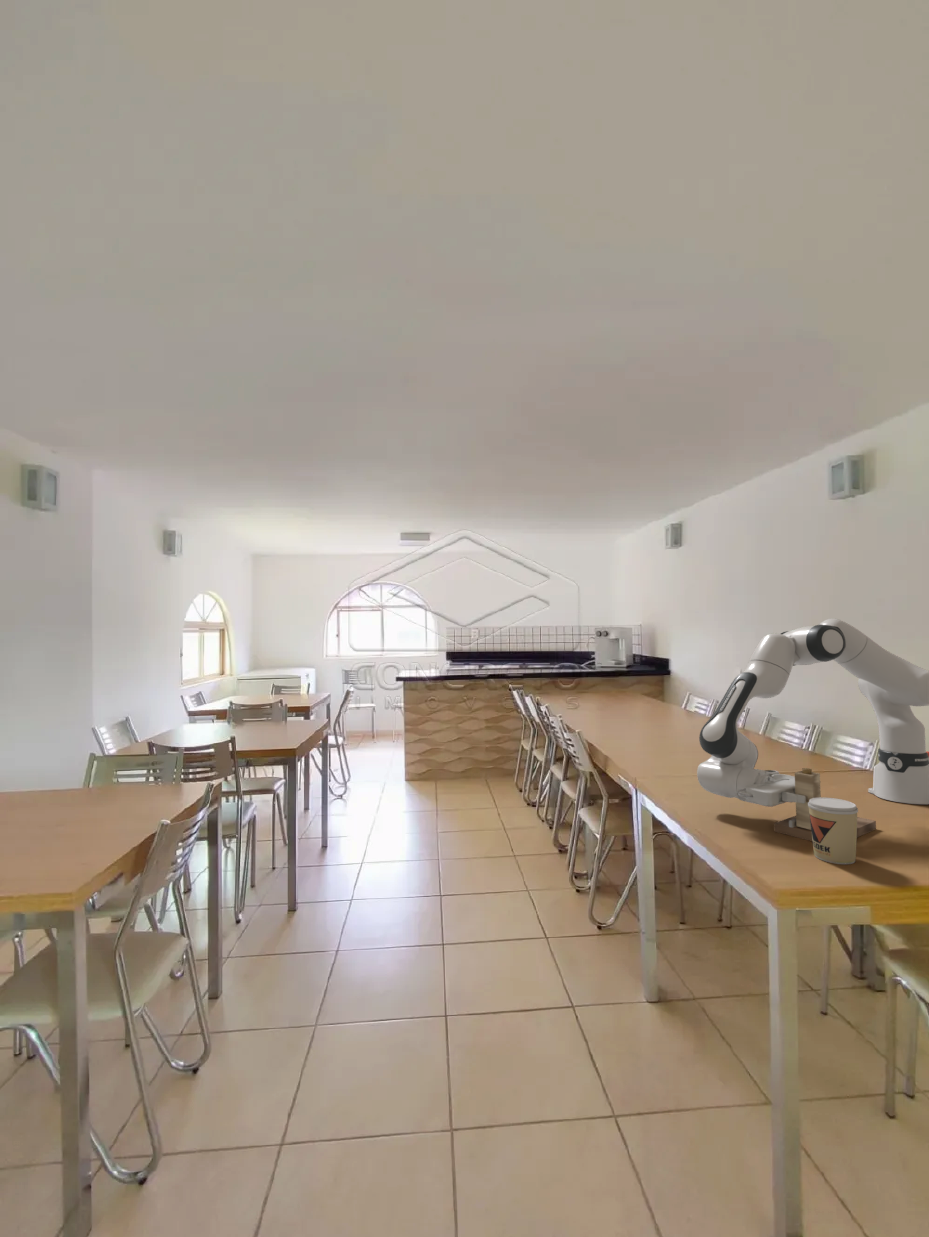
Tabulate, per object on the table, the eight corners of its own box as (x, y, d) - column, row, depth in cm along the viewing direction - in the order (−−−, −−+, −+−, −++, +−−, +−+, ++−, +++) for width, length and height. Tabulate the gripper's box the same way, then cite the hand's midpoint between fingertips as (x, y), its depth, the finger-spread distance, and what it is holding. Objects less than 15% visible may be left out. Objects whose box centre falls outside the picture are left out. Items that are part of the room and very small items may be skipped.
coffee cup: (800, 851, 132) (798, 797, 133) (839, 849, 133) (837, 796, 133) (828, 866, 123) (826, 809, 123) (870, 865, 124) (868, 807, 124)
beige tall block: (804, 823, 145) (802, 766, 145) (825, 828, 141) (823, 769, 141) (796, 826, 143) (794, 768, 143) (817, 831, 139) (815, 772, 139)
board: (817, 815, 158) (816, 802, 158) (876, 828, 147) (875, 814, 147) (774, 831, 146) (773, 817, 146) (834, 847, 134) (834, 831, 135)
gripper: (733, 780, 147) (789, 791, 136) (776, 769, 159) (831, 778, 147) (734, 805, 147) (790, 818, 136) (777, 792, 158) (832, 803, 147)
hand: (811, 797), depth 142 cm, fingers closed on beige tall block, 4 cm apart
